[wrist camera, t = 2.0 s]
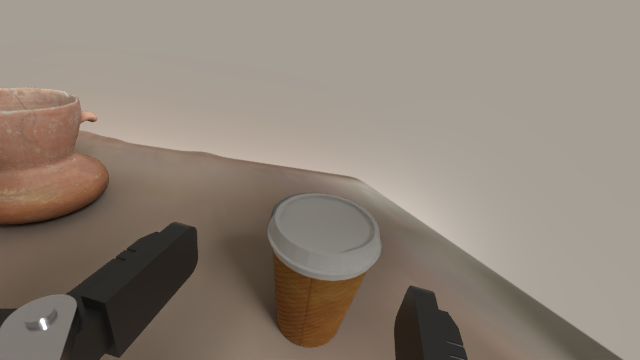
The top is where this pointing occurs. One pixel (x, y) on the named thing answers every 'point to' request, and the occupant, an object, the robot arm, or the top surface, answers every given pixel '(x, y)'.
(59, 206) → the ceramic jug
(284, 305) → the disposable coffee cup
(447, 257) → the top surface
